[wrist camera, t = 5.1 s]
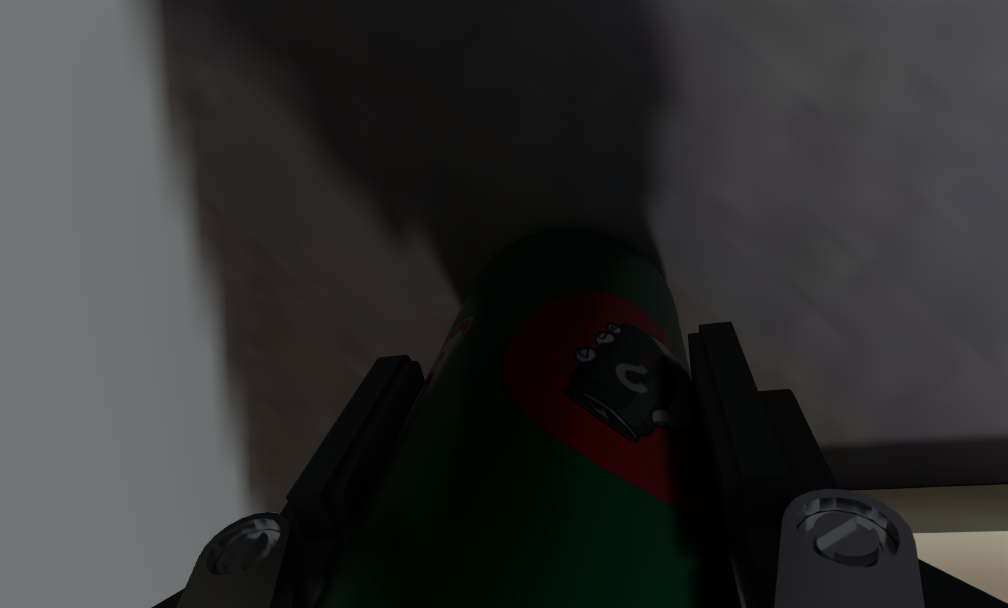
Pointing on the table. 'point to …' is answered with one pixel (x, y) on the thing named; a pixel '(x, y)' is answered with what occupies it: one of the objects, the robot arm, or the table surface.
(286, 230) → the table surface
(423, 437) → the soda can
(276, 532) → the robot arm
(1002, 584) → the pin board
